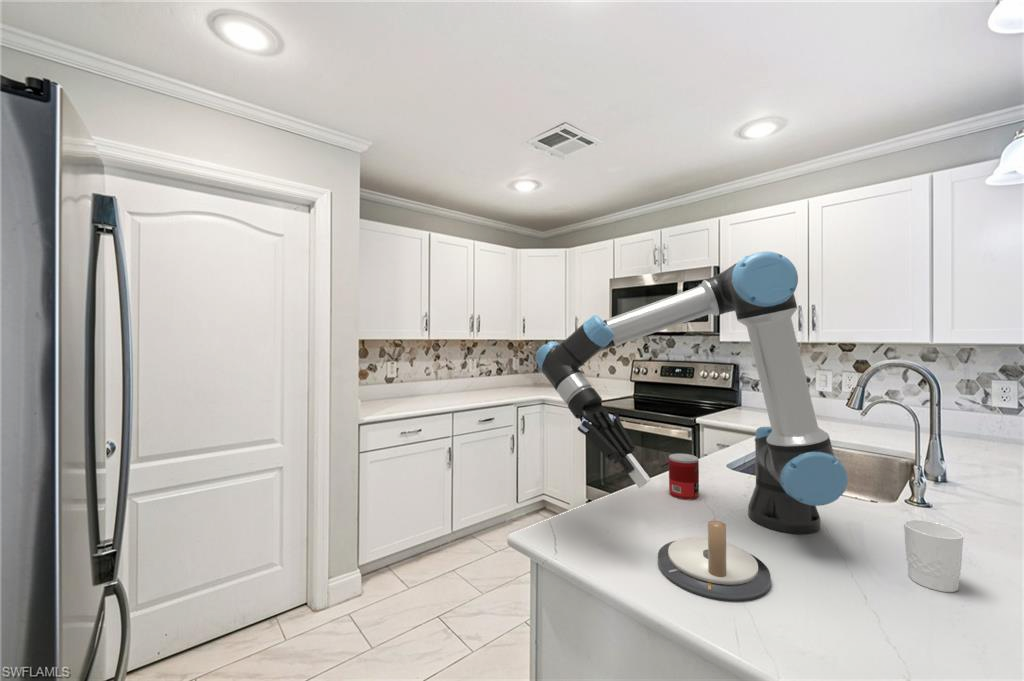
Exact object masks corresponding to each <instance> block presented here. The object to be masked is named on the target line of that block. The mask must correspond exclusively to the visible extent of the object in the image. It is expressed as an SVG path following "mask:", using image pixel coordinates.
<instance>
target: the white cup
mask: <svg viewBox="0 0 1024 681" xmlns="http://www.w3.org/2000/svg"><path fill="white" fill-rule="evenodd" d="M903 527H904V545H905V547H904V548H905V556H906V557H905V560H906V562H907V576H908V577H909V578H910V579H911V581H913V582H914V583H916V584H919V585H920V586H921V587H925V588H927V589H930V590H934V591H938V592H942V593H954V592H957V591H959V586H960V585H959V582H960V576H961V574H962V572H961V570H962V564H963V562H962V561H963V550H964V548H963V545H964V534H963V533H962V532H961V531H960V530H958V529H956V528H954V527H952V526H949V525H946V524H943V523H940V522H935V521H929V520H925V519H924V520H923V519H908V520H905V521H904V522H903Z"/></svg>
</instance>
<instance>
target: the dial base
mask: <svg viewBox="0 0 1024 681" xmlns="http://www.w3.org/2000/svg"><path fill="white" fill-rule="evenodd" d="M674 541H675V540H673V541H669V542H667V543H665V544H664V545H663V546H662V547H660V548H659V550H658V551H657V552H658V553H657V564H658V569H659V570H660V572H661V574H662V575H663V576H664V577H665V578H666V579H667V580H668V581H669V582H671V584H673V585H675V586H677V587H679V588H680V589H683V590H685V591H686V592H689V593H691V594H694V595H697V596H700V597H703V598H707V599H711V600H714V601H715V600H717V601H720V602H721V601H723V602H733V603H735V602H737V603H739V602H747V601H754V600H758V599H760V598H762V597H764V596H765V595H767V593H768V592H769V591H770V589H771V578H772V577H771V572H770V569H769V568H768V567H767V565H766V564H765V563H764V562H762V560H760V559H759V558H758V557H757V556H755V555H753V554H751V553H750V552H748V553H749V554H751V555H752V556H753V557H754V558H755V560H756V561H757V563H758V575H757V577H756V578H755V579H753V580H752V581H750V582H747V583H744V584H736V585H725V584H716V583H711V582H706V581H703V580H699V579H696V578H694V577H691V576H689V575H687V574H685V573H683V572H682V571H680V570H679V569H677V568H676V567H675V566H674V565H673V564H672V563H671V561H670V560H669V556H668V549H669V546H670V545H671V544H672V543H673V542H674Z"/></svg>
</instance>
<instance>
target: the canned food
mask: <svg viewBox="0 0 1024 681" xmlns="http://www.w3.org/2000/svg"><path fill="white" fill-rule="evenodd" d="M699 463H700V462H699V457H698V456H695V455H694V454H689V453H671V454H669V456H668V485H669V486H668V490H669V491H668V492H669V494H670V495H671V496H672V497H674V498H676V497H677V499H681V500H687V499H690V500H696V499H697V498H698V497H699V495H700V490H699V488H700V485H699V484H700V483H699V482H700V480H699V479H700V478H699V476H700V474H699V473H700V472H699V468H700V467H699V466H700V464H699Z"/></svg>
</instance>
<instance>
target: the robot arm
mask: <svg viewBox="0 0 1024 681" xmlns="http://www.w3.org/2000/svg"><path fill="white" fill-rule="evenodd" d="M798 284H799V275H798V271H797V268H796V267H795V265H794V264H793V262H792V260H790V259H789V258H788V257H786V256H785V255H783V254H780V253H777V252H774V251H760V252H756V253H752V254H749V255H746V256H744V257H742V258H741V259H740V260H739V261H738V262H737V263H734V264H733V265H731V266H730V267H728V268H727V269H725V270H723V271H721V272H720V273H718V274H716V275H714V276H712V277H710V278H709V277H708V278H706V279H704V280H702V282H701V284H700V285H699V286H698V285H697V286H696V287H693V288H691V289H688V290H685V291H682V292H680V293H676V294H674V295H671V296H668V297H665V298H663V299H659V300H657V301H655V302H652V303H649V304H645V305H643V306H640V307H636V308H635V309H631V310H629V311H626V312H624V313H621V314H617V315H615V316H612V317H609V318H606V319H604V320H603V319H602V318H601V317H600V316H599V315H596V314H595V315H592V316H591V317H590V318H589V319H587V320H585V321H584V322H583V324H582V325H580V326H579V327H578V328H577V329H576V330H575V331H573V332H572V333H571V334H570V335H569V336H568V337H567V338H566V339H565V340H564V341H562V342H560V343H559V342H557V341H555V340H552V341H549V342H547V343H545V344H543V345H542V346H540V347H539V349H538V350H537V351H536V354H535V356H534V357H535V362H536V364H537V365H538V367H539V368H540V371H541V373H542V374H543V375H544V376H545V378H546V379H547V381H549V383H550V385H552V387H553V388H554V389H555V391H556V392H557V393H558V395H559V396H560V398H561V400H563V402H564V403H565V405H567V407H568V409H569V411H570V412H571V413H572V415H573V416H574V417H575V419H577V420H580V422H581V423H580V424H579V425H578V427H577V430H578V431H579V432H580V433H582V434H583V435H584V436H585V437H586V438H587V439H588V440H589V441H590V442H591V443H592V444H593V445H594V446H595V447H596V448H597V450H599V451H600V452H601V453H602V455H603V456H604V457H606V458H607V460H608V461H610V462H611V461H612V463H614V464H618V463H619V464H620V466H621V467H622V468H623V469H624V471H625V472H626V473H627V474H628V475H629V477H630V479H631V480H632V481H633V482H634V484H635V485H636V486H637V487H638V489H640V488H643V487H644V486H645V485H647V484H648V483H649V482H650V481H651V480H652V479H651V477H650V476H649V474H648V473H647V472H646V471H645V470H644V468H643V467H642V466H641V463H640V462H639V461H638V460H637V458H636V457H635V456H634V455H633V453H634V452H635V450H636V446H635V445H634V442H633V441H632V439H631V437H630V435H629V434H628V432H627V431H626V429H625V427H624V425H623V424H622V422H621V419H620V415H619V413H617V412H615V413H614V414H611V413H609V411H608V410H607V409H606V408H605V407H604V406H602V402H603V399H602V397H601V396H600V395H599V393H598V392H597V390H595V388H594V387H592V384H591V382H590V381H589V380H588V379H587V378H586V376H585V375H584V374H583V372H582V371H581V370H580V368H581V367H582V366H584V365H585V364H586V363H587V362H589V360H591V359H592V358H593V357H594V356H597V354H598V353H600V352H602V351H605V350H608V349H610V348H614V347H617V346H619V345H622V344H626V343H628V342H631V341H633V340H637V339H639V338H642V337H646V336H649V335H652V334H654V333H658V332H660V331H661V332H662V331H663V330H667V329H669V328H673V327H675V326H679V325H682V324H684V323H687V322H690V321H693V320H696V319H699V318H702V317H705V316H708V315H713V316H716V317H717V316H720V315H723V314H727V313H732V312H735V316H736V320H737V322H739V323H740V324H743V325H744V326H745V327H746V329H747V333H748V337H749V341H750V345H751V349H752V354H753V358H754V362H755V365H756V370H757V374H758V379H759V383H760V387H761V390H762V395H763V399H764V404H765V407H766V412H767V415H768V419H769V424H770V426H760V427H758V428H756V430H755V437H754V443H755V444H754V446H755V486H754V489H753V492H752V495H751V497H750V500H749V503H748V506H747V509H748V510H747V515H748V517H749V519H750V520H752V521H753V522H754V523H756V524H758V525H760V526H763V527H765V528H768V529H770V530H774V531H778V532H783V533H789V534H800V535H802V534H805V535H806V534H813V533H816V532H818V531H820V529H821V516H820V513H819V511H818V509H817V507H821V506H826V505H829V504H832V503H834V502H836V501H837V500H839V499H840V497H841V496H842V495H843V494H844V493H845V492H846V489H847V487H848V484H849V483H848V482H849V476H848V472H847V470H846V467H845V466H844V464H843V463H842V462H841V460H840V459H838V458H837V457H836V456H835V455H834V451H833V445H832V442H831V438H830V433H828V432H826V431H825V430H824V429H821V427H819V425H818V421H817V417H816V413H815V410H814V404H813V400H812V397H811V393H810V389H809V385H808V380H807V376H806V373H805V369H804V368H805V367H804V364H803V360H802V357H801V352H800V348H799V343H798V341H797V340H798V339H797V335H796V333H795V332H796V331H795V328H794V324H793V320H792V318H793V315H794V314H795V312H797V310H798V305H797V301H796V296H795V292H796V289H797V287H798Z"/></svg>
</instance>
